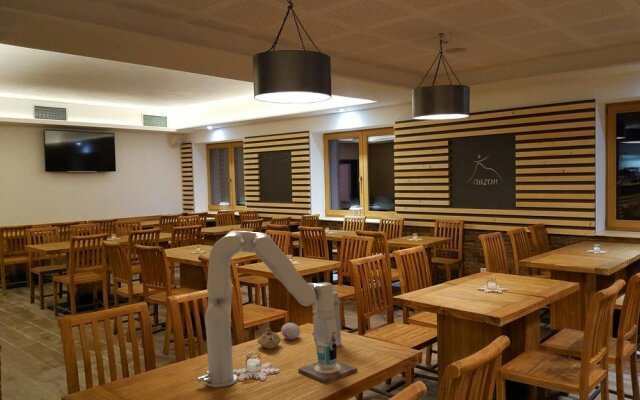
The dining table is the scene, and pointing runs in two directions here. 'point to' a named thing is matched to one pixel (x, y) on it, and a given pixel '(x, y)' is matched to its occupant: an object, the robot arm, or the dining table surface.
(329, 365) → the pill bottle
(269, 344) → the oil lamp
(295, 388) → the dining table surface
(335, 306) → the water bottle
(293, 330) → the decorative item
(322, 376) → the serving board
